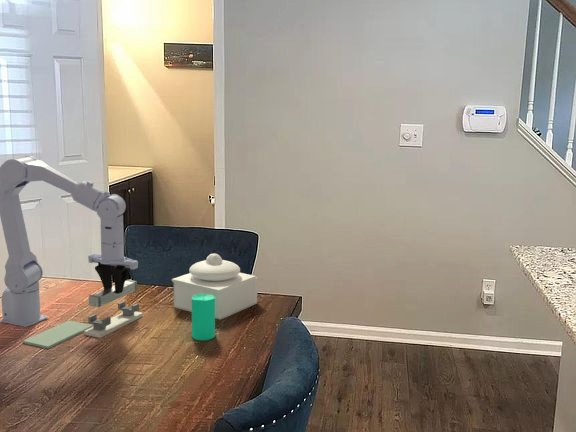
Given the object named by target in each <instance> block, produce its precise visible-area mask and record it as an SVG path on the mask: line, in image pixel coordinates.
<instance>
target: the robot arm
mask: <svg viewBox="0 0 576 432" xmlns="http://www.w3.org/2000/svg"><path fill="white" fill-rule="evenodd" d="M42 181H43V182H44V183H46V184H48V185H52V186H54V187H56V188H57V189H60V190H63V191H65V192H67V193H68V194H71V197H72V200H73V201H74V202H76V203H78V204H80V205H81V206H83V207H85V208H88V209H90V210H91V211H94V212H95V213H96V215H97V216H98V217H99V218H100V252H101V253H100V254H95V253H92V254H88V255H87V258H88V264H89V263H90V264H97V265H96V266H95V267H94V270H95V272H96V273H97V275H98V277H99V278H100V281H101V283H102V287H103V290H105V289H107V288H110V287H112V286H113V282H114V285H115V292H116V294H119V293H121V292H123V287H124V283H125V281H126V280H127V277H128V275H129V273H130V271H131V270H132V271H134V270H136V269H138V268H139V260H136V259H132V258H129V257H126V256H125V248H124V247H125V244H124V242H125V240H124V237H125V236H124V235H125V234H124V215H123V214H124V213H125V211H126V207H127V204H126V201H125V199H124V198H123V197H121V196H120V195H119V194H116V193H112V194H111V192H110V191H108V190H103V189H101V188H99V187H97V186H95V185H94V183H95V182H93V181H89V180H88V181H86V180H85V181H84V180H83V181H80V182H77V181H75V180H74V179H72V178H71V177H69V176H67V175H65V174H63V172H61V171H60V170H57V169H55V168H54V167H52V166H51V165H48V164H47V163H46V162H45V161H43V160H40V159H37V158H35V157H34V156H31V155H26V156H23V157H19V158H11V159H10V158H9V159H7V160H4V162H3V163H2V164H1V166H0V221H1V226H2V231H3V236H4V239H5V245H6V250H7V254H8V257H7V260H6V262H5V266H4V268H5V274H4V279H3V280H4V284H5V286H6V288H5V289H4V290H3V292H2V295H1V312H2V313H1V314H2V319H0V322H1V323H5V324H9V325H15V326H20V327H24V328H27V327H29V326H32V325H35V324H37V323H40V322H42V321H44V320H47V319H49V316H47V315H44V314H42V313H41V300H40V299H41V298H40V297H41V296H40V284H39V283H40V282H39V281H41V280H42V277H43V275H44V272H43V268H42V266H41V264H40V263H39V262H38V258H37V255H36V254H34V253H33V252H32V251H31V247H30V242H29V237H28V233H27V228H26V223H25V220H24V214H23V209H22V205H21V199H20V192H22V191H23V189H24V188H25V187H26V185H27V184H29V183H30V182H42Z"/></svg>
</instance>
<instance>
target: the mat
mask: <svg viewBox="0 0 576 432" xmlns="http://www.w3.org/2000/svg"><path fill="white" fill-rule="evenodd" d="M91 327H93V324H88V323H82V322H78V321H73V320H66V321H64V322H63V323H60V324H58V325H56V326H53V327H51V328H49V329H46V330H44V331H42V332H40V333H37V334H35V335H32V336H31V337H28V338H26V339H24V340H22V343H23V344H25V345H29V346H34V347H39V348H43V349H48V350H49V349H51V348H53V347H55V346H57V345H59V344H61V343H63V342H66V341H68V340H70V339H72V338H73V337H76V336H79V335H80V334H82V333H84V331H85V330H87V329H89V328H91Z"/></svg>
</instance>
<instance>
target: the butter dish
mask: <svg viewBox="0 0 576 432" xmlns="http://www.w3.org/2000/svg"><path fill="white" fill-rule="evenodd" d="M188 270H189V273H187V274H186V273H185V274H183V275H180V276H177V277H174V278H171V282H172V284H173V308H175V309H179V310H183V311H186V312H190V313H192V296H194V295H197V294H203V291H204V294H206V295H213V296H214V297H215V320H216V319H217V320H219V321H220V320H223V319H225V318H228V317H230V316H232V315H234V314H237V313H239V312H241V311H243V310H246V309H248V308H250V307H252V306H254V305H257V304H258V277H257V276H256V275H253V274H249V273H248V274H247V273H244V272H241V267H240V266H239V265H238V264H236V263H235V262H233V261H229V260H225V259H222V257H221V255H220V254H218V253H210V254H209V255H208V256H207V257H206V259H204V260H201V261H198V262H195V263H193V264H192V265H191V266H190V267H189V269H188Z"/></svg>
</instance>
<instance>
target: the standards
mask: <svg viewBox="0 0 576 432" xmlns="http://www.w3.org/2000/svg"><path fill="white" fill-rule="evenodd" d="M117 309H118V311H122V312H121V313H118V314H117V315H115V316H113V317H111V316H107V317H105V318H103V319H99V318H98V317H97V313H93V314H92V315H89V316H88V317H87V319H88V320H87V322H88V323H87V324H89V325H93V327H91V328H89V329H87V330H85V331H84V332H83V333H84V335H85V336H88V337H89V336H90V337H94V338H99V339H100V338H102V337H105V336H107V335H109V334H111V333H112V332H115V331H117V330H119V329H120V328H123V327H124V326H126V325H129V324H131V323H132V322H134V321H136V320H138V319H140V318H142V317H143V315H144V313H143V312H140V311H139V310H140V304H139V303H135V304H132V305H131V306H130V305H127V304H126V301H125V300H123V301H121V302H118V303H117Z"/></svg>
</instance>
